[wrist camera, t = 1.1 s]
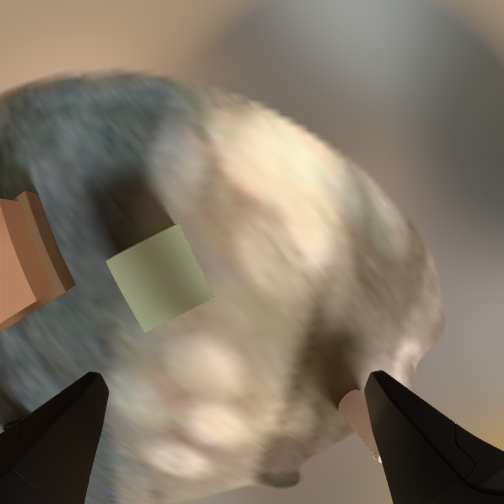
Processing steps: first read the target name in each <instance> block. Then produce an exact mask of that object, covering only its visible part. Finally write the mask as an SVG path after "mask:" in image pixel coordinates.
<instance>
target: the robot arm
mask: <svg viewBox="0 0 504 504" xmlns="http://www.w3.org/2000/svg"><path fill="white" fill-rule="evenodd" d="M364 394H365V399H366V403H367V408H368V413H369V418H370V423H371V428H372V432H373V436H374V439H375V442H376V445H377V448H378V452H379V455H380V458H381V461H382V464H383V468H384V472H385V475H386V479H387V482H388V486H389V489H390V493H391V497H392V501H393V504H504V451H502V450H500V449H498V448H496V447H494V446H492V445H490V444H489V443H487V442H485V441H483V440H481V439H479V438H477V437H476V436H474V435H473V434H471V433H469V432H468V431H466V430H465V429H463V428H462V427H461V426H459V425H458V424H455V422H453V421H452V420H451V419H449V418H448V417H446V416H445V415H444V414H442V413H441V412H439V411H438V410H437V409H435V408H433V407H432V406H431V405H430V404H428V403H427V402H425V401H424V400H423V399H421V398H420V397H419V396H417V395H416V394H414V393H413V392H412V391H410V390H409V389H408V388H406V387H405V386H403V385H402V384H401V383H399V382H398V381H397V380H395V379H394V378H393V377H391V376H390V375H389V374H387V373H386V372H384V371H382V370H379V371H374V372H371V373H370V375H369V378H368V380H367V383H366V386H365V389H364ZM108 396H109V389H108V387H107V385H106V383H105V381H104V379H103V377H102V375H101V374H100V373H97V372H88V373H87V374H85V375H84V376H82V377H81V378H80V379H78V380H77V381H75V382H74V383H73V384H71V385H70V386H68V387H67V388H66V389H64V390H63V391H61V392H60V393H59V394H57V395H56V396H54V397H53V398H51V399H50V400H49V401H47V402H46V403H44V404H43V405H42V406H40V407H39V408H37V409H36V410H35V411H33V412H32V413H30V414H29V415H27V416H26V417H25V418H23V419H20V420H17V421H15V422H12V423H9V424H6V425H4V427H3V429H4V430H5V431H4V432H2V433H0V504H84V503H85V498H86V493H87V488H88V483H89V479H90V474H91V470H92V466H93V462H94V458H95V454H96V450H97V447H98V443H99V439H100V436H101V432H102V428H103V423H104V417H105V412H106V406H107V401H108Z"/></svg>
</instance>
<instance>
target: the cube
mask: <svg viewBox="0 0 504 504" xmlns="http://www.w3.org/2000/svg"><path fill="white" fill-rule="evenodd" d="M106 263H107V265H108V267H109V269H110V271H111V273H112V275H113V277H114V279H115V281H116V283H117V284H118V286H119V288H120V290H121V292H122V294H123V296H124V297H125V299H126V301H127V303H128V305H129V306H130V308H131V310H132V312H133V313H134V315H135V317H136V318H137V320H138V322H139V323H140V325H141V327H142V328H143V330H144V332H145V333H146V332H148V331H150V330H152V329H154V328H156V327H158V326H160V325H162V324H163V323H165V322H167V321H169V320H171V319H173V318H175V317H177V316H179V315H181V314H183V313H185V312H187V311H189V310H191V309H193V308H194V307H196V306H198V305H200V304H202V303H204V302H206V301H208V300H210V299H212V298H213V297H215V296H214V294H213V292H212V290H211V288H210V286H209V284H208V282H207V280H206V278H205V276H204V274H203V272H202V270H201V268H200V266H199V264H198V262H197V260H196V258H195V256H194V254H193V252H192V250H191V248H190V246H189V244H188V241H187V239H186V237H185V235H184V233H183V231H182V229H181V226H180V224H179V223H178V224H174V225H172V226H169V227H167V228H165V229H163V230H161V231H159V232H157V233H155V234H153V235H151V236H150V237H148V238H146V239H144V240H142V241H140V242H138V243H136V244H134V245H132V246H130V247H128V248H126V249H124V250H123V251H121V252H119V253H117V254H116V255H114V256H113V257H111V258H110V259H108V260H107V261H106Z"/></svg>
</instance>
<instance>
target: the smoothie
mask: <svg viewBox="0 0 504 504" xmlns="http://www.w3.org/2000/svg"><path fill="white" fill-rule="evenodd" d="M338 410H339V412H340V413H341V415H342V416H343V417H344V418H345V419H346V421H347V422H348V423H349V424H350V426H351V427H352V428H353V429H354V431H355V432H356V433H357V434H358V435H359V437H360V438H361V439H362V440H363V441H364V443H365V444H366V445H367V446H368V448H369V449H370V450H371V451H372V452H373V458H374V459H376V460H377V461H378V462H380V463H382V461H381V458H380V455H379V452H378V448H377V445H376V442H375V439H374V436H373V432H372V428H371V423H370V418H369V413H368V408H367V403H366V399H365V394H364V393H363V392H362V391H360V390H352V391H350V392H349V393H347V394H346V395H345V396H344V397H343V398H342V399H341V401H340V403H339V406H338Z"/></svg>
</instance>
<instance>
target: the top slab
mask: <svg viewBox="0 0 504 504" xmlns="http://www.w3.org/2000/svg"><path fill="white" fill-rule="evenodd" d="M50 291H52V288H51V286H50V284H49V282H48V280H47V278H46V275H45V273H44V271H43V269H42V266H41V264H40V262H39V259H38V257H37V254H36V252H35V249H34V247H33V244H32V242H31V239H30V236H29V233H28V231H27V228H26V225H25V222H24V219H23V216H22V212H21V209H20V206H19V202H18V201H13V200H7V199H1V198H0V323H2V322H3V321H5V320H6V319H8V318H10V317H11V316H13V315H14V314H16V313H18V312H19V311H21V310H22V309H24V308H26V307H27V306H29V305H31V304H32V303H34V302H35V301H37V300H39V299H40V298H41V297H43V296H44V295H46V294H47V293H49V292H50Z"/></svg>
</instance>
